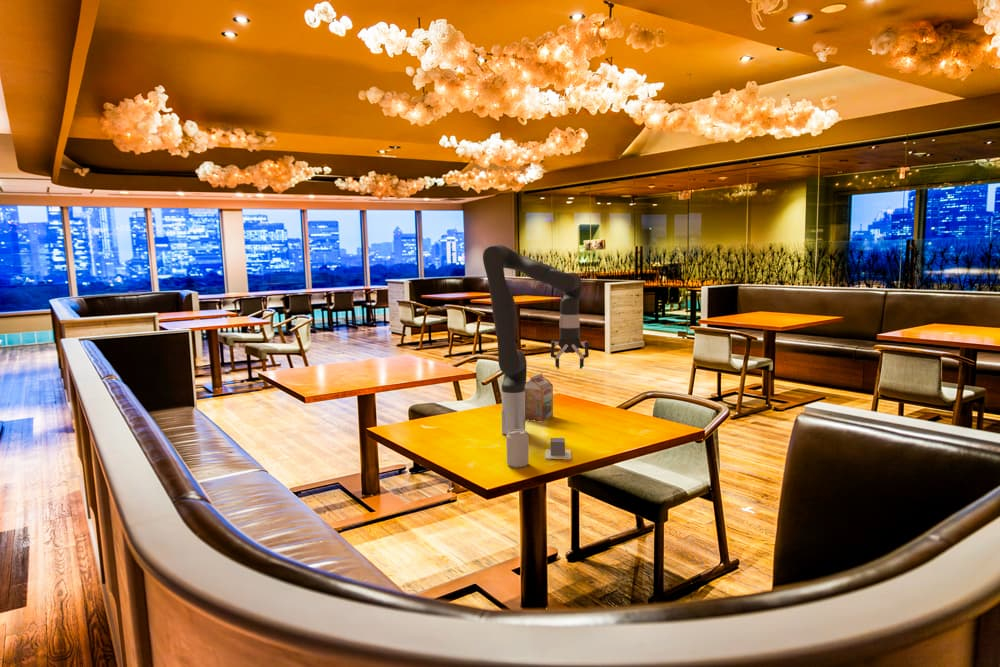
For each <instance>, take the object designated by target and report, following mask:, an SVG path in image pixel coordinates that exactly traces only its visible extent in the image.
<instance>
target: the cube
mask: <svg viewBox="0 0 1000 667" xmlns="http://www.w3.org/2000/svg"><path fill="white" fill-rule="evenodd" d="M549 442H550V450H551V456H565V450H566V441H565V437H550V441H549Z"/></svg>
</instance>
